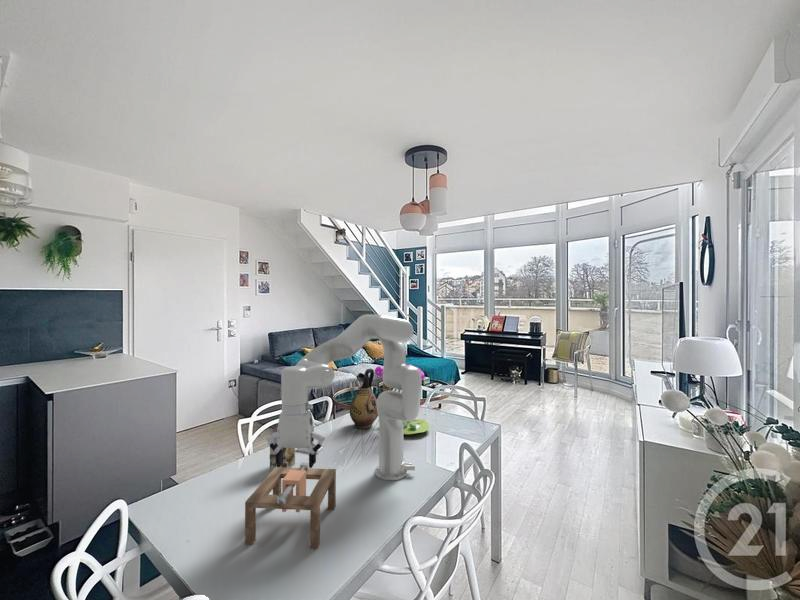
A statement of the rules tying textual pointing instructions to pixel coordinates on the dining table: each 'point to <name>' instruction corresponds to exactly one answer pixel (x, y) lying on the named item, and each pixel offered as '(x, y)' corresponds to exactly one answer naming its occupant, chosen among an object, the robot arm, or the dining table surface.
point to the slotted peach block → (295, 483)
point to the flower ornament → (408, 427)
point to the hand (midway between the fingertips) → (296, 465)
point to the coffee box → (287, 455)
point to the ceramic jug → (364, 402)
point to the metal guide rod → (290, 486)
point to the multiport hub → (308, 451)
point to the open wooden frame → (291, 500)
